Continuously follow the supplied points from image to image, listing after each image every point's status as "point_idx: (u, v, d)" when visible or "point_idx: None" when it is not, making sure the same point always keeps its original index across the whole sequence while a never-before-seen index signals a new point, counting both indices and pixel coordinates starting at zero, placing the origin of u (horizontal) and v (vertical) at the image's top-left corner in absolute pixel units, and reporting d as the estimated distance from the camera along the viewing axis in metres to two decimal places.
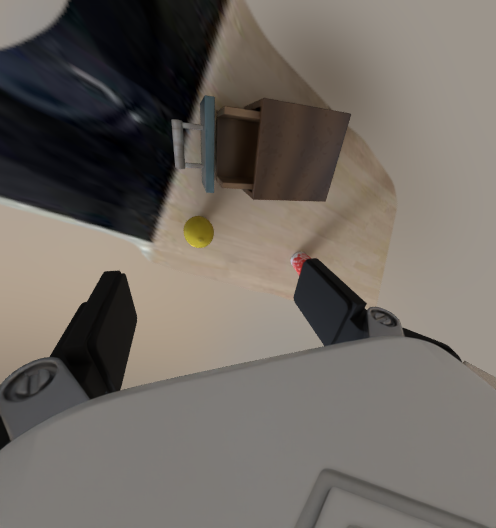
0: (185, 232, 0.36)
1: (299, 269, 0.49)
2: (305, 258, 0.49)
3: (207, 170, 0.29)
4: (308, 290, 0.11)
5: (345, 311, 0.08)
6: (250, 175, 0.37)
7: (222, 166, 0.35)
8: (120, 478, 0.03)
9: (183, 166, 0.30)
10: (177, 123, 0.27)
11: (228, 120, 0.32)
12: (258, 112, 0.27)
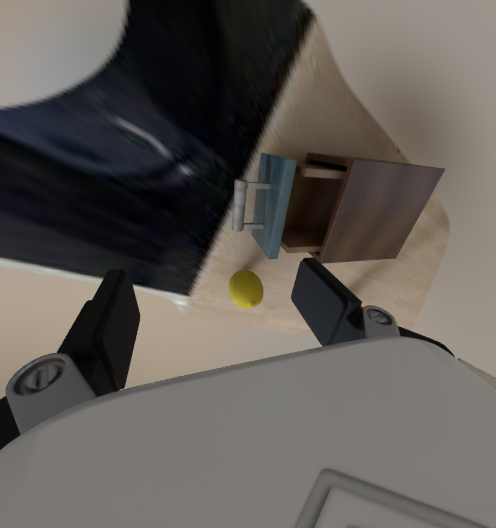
0: (233, 293, 0.31)
1: None
2: None
3: (274, 237, 0.24)
4: (305, 289, 0.11)
5: (341, 310, 0.09)
6: (306, 225, 0.32)
7: None
8: (120, 478, 0.03)
9: (242, 228, 0.25)
10: (242, 184, 0.22)
11: None
12: (342, 172, 0.22)
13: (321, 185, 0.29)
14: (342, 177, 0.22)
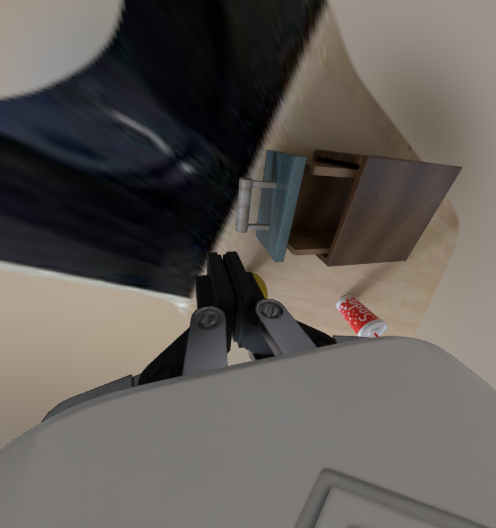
0: None
1: (350, 319, 0.43)
2: (357, 306, 0.43)
3: (281, 239, 0.23)
4: None
5: (238, 303, 0.08)
6: (312, 226, 0.31)
7: None
8: (120, 478, 0.03)
9: (246, 229, 0.24)
10: (247, 183, 0.21)
11: None
12: (354, 170, 0.21)
13: (329, 184, 0.28)
14: (354, 176, 0.21)
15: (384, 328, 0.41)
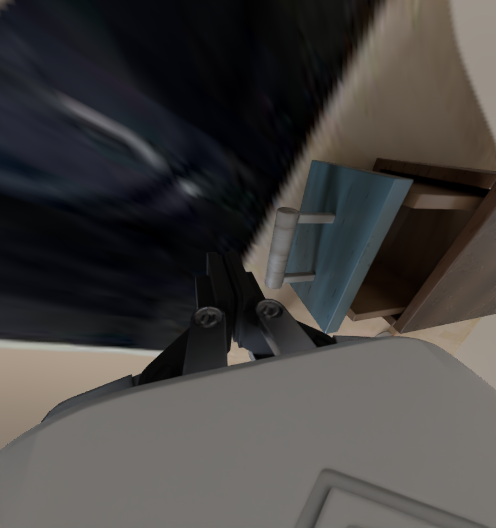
0: None
1: None
2: None
3: (340, 305, 0.14)
4: None
5: (238, 303, 0.08)
6: None
7: None
8: (120, 478, 0.03)
9: (281, 284, 0.16)
10: (291, 220, 0.12)
11: None
12: (474, 198, 0.12)
13: None
14: (471, 207, 0.12)
15: None
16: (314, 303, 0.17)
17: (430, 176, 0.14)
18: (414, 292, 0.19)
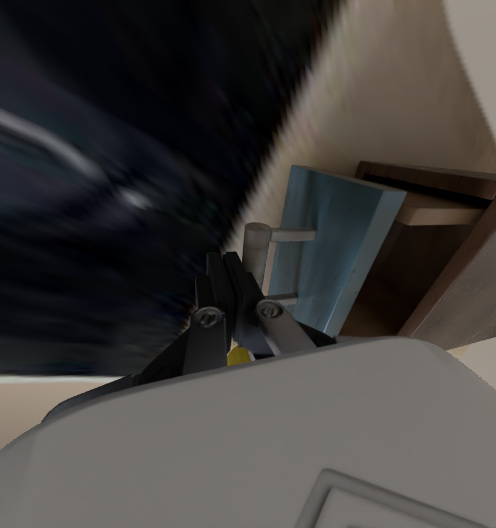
0: None
1: None
2: None
3: None
4: None
5: (238, 303, 0.08)
6: None
7: None
8: (120, 478, 0.03)
9: None
10: (261, 239, 0.10)
11: None
12: (483, 211, 0.10)
13: None
14: None
15: None
16: None
17: (419, 182, 0.12)
18: None
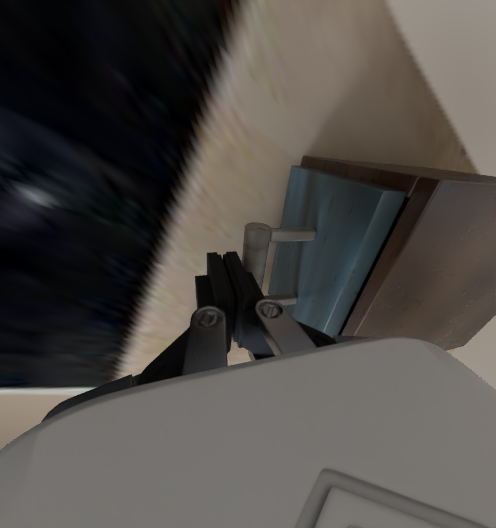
0: None
1: None
2: None
3: None
4: None
5: (238, 303, 0.08)
6: None
7: None
8: (120, 478, 0.03)
9: None
10: (261, 239, 0.10)
11: None
12: None
13: None
14: None
15: None
16: None
17: None
18: None
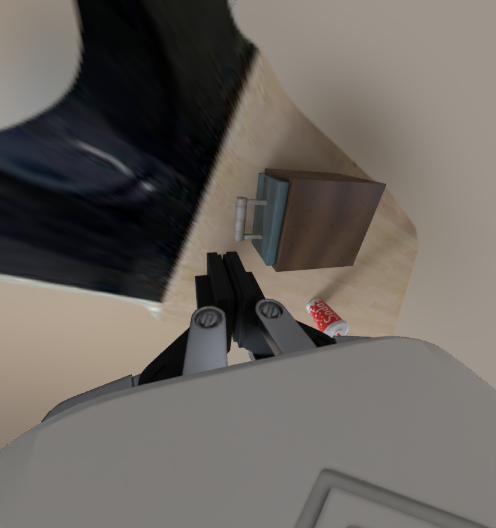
0: None
1: (317, 320, 0.45)
2: (323, 308, 0.46)
3: (271, 246, 0.27)
4: None
5: (238, 303, 0.08)
6: None
7: None
8: (120, 478, 0.03)
9: (243, 239, 0.29)
10: (243, 202, 0.26)
11: None
12: None
13: None
14: None
15: (347, 329, 0.44)
16: (262, 251, 0.30)
17: None
18: None
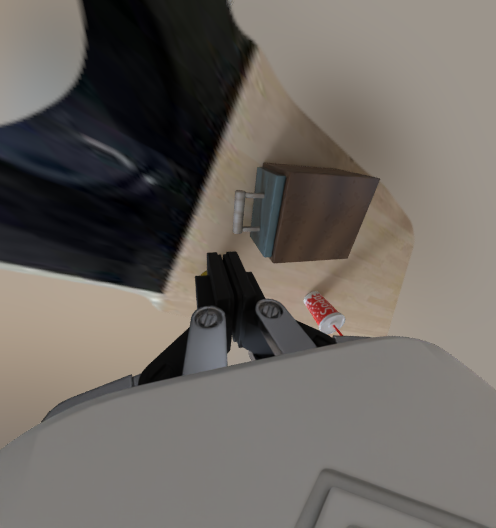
0: None
1: (314, 313, 0.47)
2: (320, 301, 0.47)
3: (268, 238, 0.28)
4: None
5: (238, 303, 0.08)
6: None
7: None
8: (120, 478, 0.03)
9: (241, 231, 0.30)
10: (241, 195, 0.27)
11: None
12: None
13: None
14: None
15: (343, 321, 0.45)
16: (260, 243, 0.31)
17: None
18: None
